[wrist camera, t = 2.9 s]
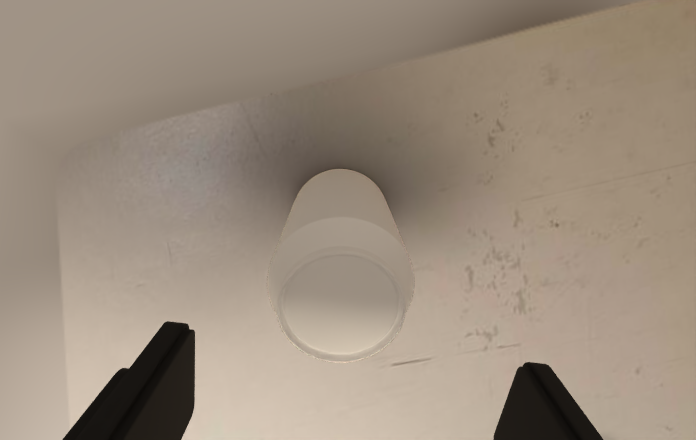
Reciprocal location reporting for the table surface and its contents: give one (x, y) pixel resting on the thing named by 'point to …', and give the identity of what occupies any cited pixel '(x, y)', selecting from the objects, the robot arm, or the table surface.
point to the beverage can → (340, 270)
